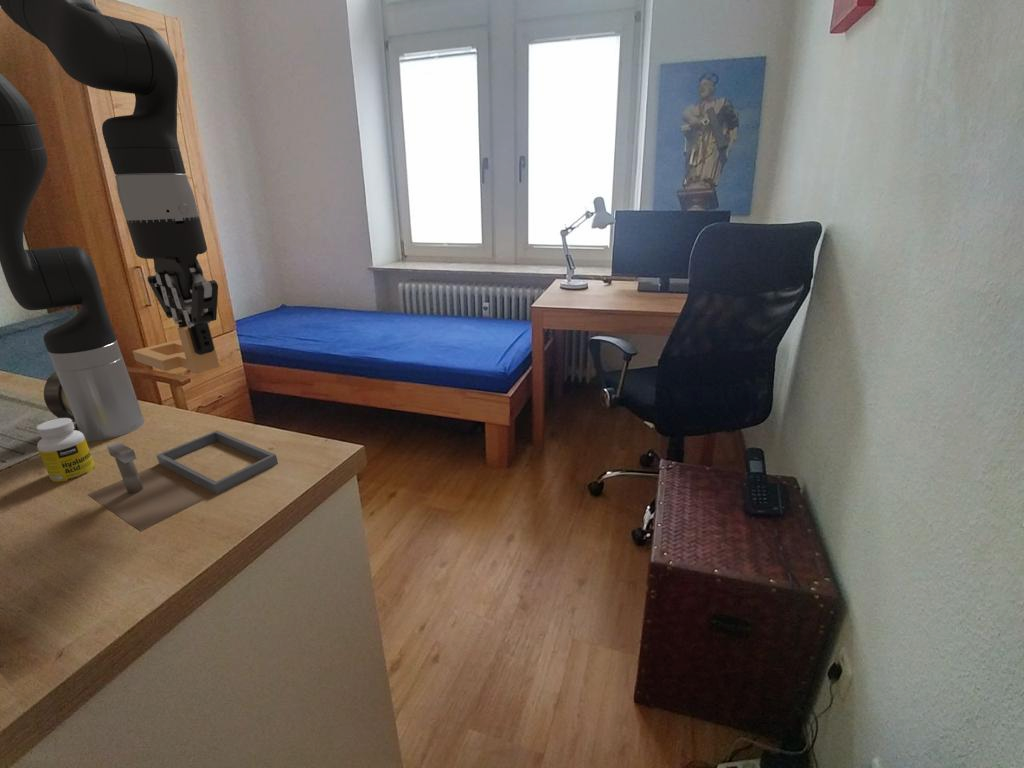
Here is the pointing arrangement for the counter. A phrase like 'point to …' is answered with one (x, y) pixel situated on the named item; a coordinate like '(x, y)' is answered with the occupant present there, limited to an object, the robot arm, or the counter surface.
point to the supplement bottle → (64, 450)
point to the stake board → (142, 493)
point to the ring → (177, 355)
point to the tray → (227, 482)
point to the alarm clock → (57, 399)
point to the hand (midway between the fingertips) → (200, 350)
